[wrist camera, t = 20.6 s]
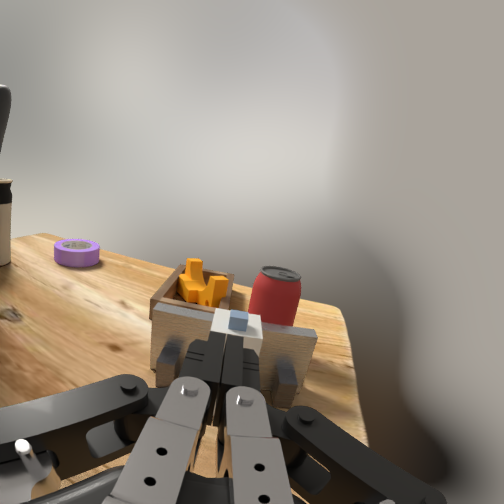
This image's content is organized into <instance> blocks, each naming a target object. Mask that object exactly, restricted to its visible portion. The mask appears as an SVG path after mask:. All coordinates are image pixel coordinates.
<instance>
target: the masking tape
mask: <svg viewBox="0 0 504 504" xmlns="http://www.w3.org/2000/svg"><path fill="white" fill-rule="evenodd" d="M99 248H100V246H99V244H97V243H95V242H93V241H89V240H82V239H66V240H61V241H58V242H56V243H55V244H54V260H55V262H57V263H58V264H61V265H64V266H69V267H88V266H93V265H95V264H97V263H98V262H99Z"/></svg>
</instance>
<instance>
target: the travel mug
mask: <svg viewBox="0 0 504 504" xmlns="http://www.w3.org/2000/svg"><path fill="white" fill-rule="evenodd" d="M12 181H13V180H11V179H0V266H3V265H6V264H7V263H9V262H10V261H11V248H10V231H11V230H10V229H11V204H12V193H11V190H10V187H11V183H12Z"/></svg>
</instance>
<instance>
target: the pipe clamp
mask: <svg viewBox="0 0 504 504" xmlns="http://www.w3.org/2000/svg"><path fill="white" fill-rule="evenodd" d="M202 265H203V261H201V260H200V259H195V258H194V259H193V258H187V262H186V269H185V274H180V275H179V279H178V288H177V292H178V293H179V294H180V295H181V296H182V297H183V299H184V300H185V301H186V302H188V303H191V302H196V303H197V304H198V305H203V306H208V307H213V308H219V305H220V301H221V297H226V293H227V287H228V282H229V280H228V279H227V278H226V277H224V276H210V278H209V282H208V285H207V286H206V284H205V282H204V278H203V272H202Z"/></svg>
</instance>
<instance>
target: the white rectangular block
mask: <svg viewBox="0 0 504 504" xmlns="http://www.w3.org/2000/svg"><path fill="white" fill-rule="evenodd" d="M210 331H215V332H220V333H225V334H226V338H227V334H231V335H236V336H242V337H244V342H243V348H248V349H254V351H255V352H256V354H257V355H258V357H259V353H260V349H261V345H262V341H263V336H262V327H261V318H260V315H255V314H249V313H248V312H244V311H238V310H232V309H231V310H225V309H220V308H216V309H215V313H214V318H213V322H212V326H211V330H210ZM226 338H225V343H226ZM224 348H225V345H224ZM223 353H224V352H223ZM215 405H216V402H215ZM214 412H215V408H214ZM213 416H214V413H213Z"/></svg>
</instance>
